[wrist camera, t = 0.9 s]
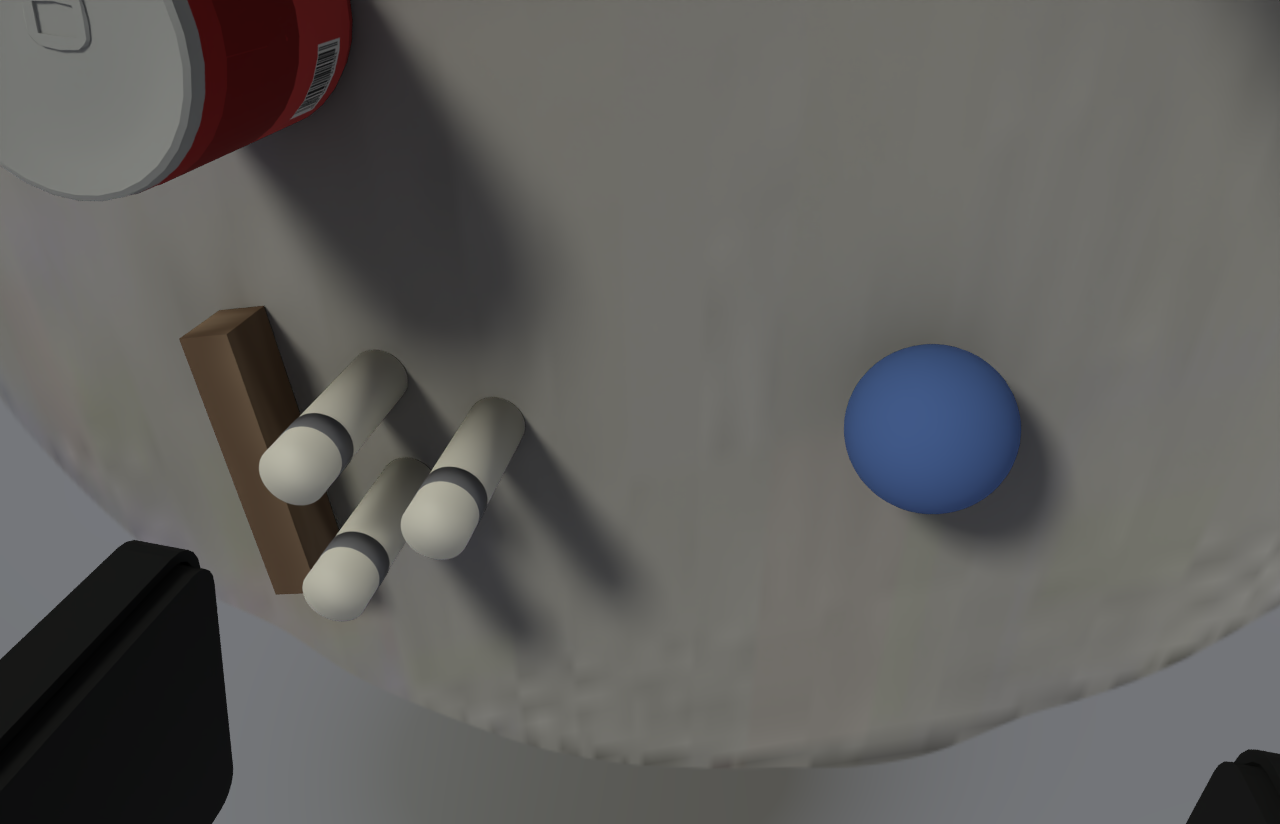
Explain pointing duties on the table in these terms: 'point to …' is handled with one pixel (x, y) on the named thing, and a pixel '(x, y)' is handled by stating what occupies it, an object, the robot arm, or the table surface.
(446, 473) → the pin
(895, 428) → the ball
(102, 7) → the canned food
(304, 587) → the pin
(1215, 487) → the table surface
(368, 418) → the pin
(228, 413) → the stopper wall
